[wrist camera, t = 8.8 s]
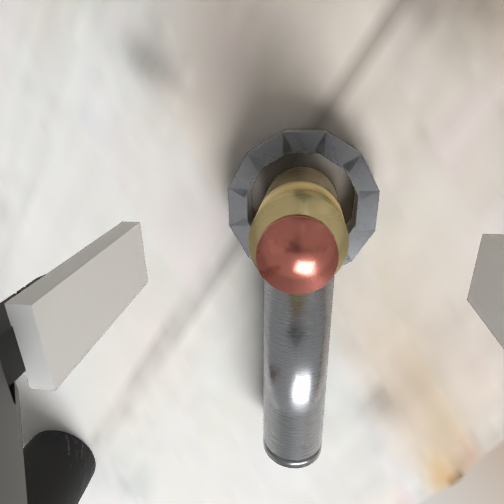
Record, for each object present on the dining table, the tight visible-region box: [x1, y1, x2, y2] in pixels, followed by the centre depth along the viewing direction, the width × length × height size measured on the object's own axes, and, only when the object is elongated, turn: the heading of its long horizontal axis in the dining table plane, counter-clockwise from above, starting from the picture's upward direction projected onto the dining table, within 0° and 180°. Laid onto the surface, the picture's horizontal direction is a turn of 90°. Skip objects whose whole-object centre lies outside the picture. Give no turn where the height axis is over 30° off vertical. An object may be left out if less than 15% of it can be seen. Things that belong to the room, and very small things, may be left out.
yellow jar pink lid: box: [248, 167, 349, 294], centre depth 21 cm, size 5×5×10 cm
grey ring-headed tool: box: [228, 130, 380, 468], centre depth 26 cm, size 24×9×5 cm, turn 1°
